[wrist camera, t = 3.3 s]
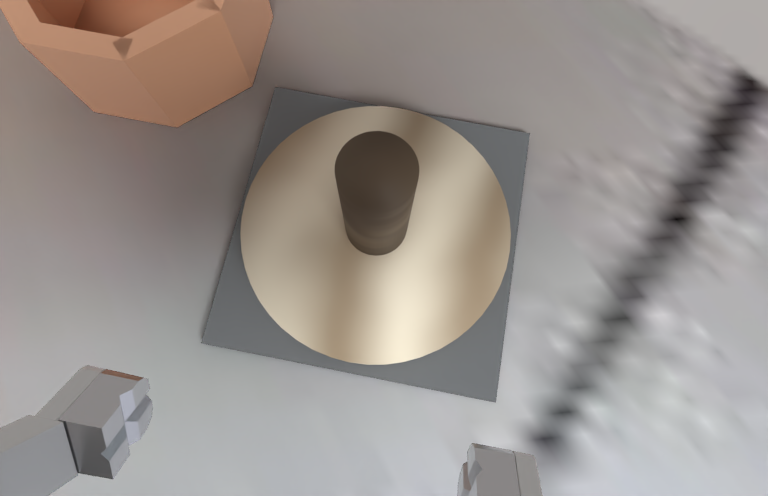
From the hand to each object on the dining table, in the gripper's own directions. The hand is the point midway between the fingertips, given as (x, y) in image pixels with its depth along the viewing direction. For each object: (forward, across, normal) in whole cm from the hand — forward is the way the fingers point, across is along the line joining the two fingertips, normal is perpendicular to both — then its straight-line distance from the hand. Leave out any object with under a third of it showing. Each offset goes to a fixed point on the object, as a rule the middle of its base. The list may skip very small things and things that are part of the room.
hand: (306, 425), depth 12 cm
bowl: (+22, +15, -5) cm, 27 cm away
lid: (+15, 0, +2) cm, 15 cm away
